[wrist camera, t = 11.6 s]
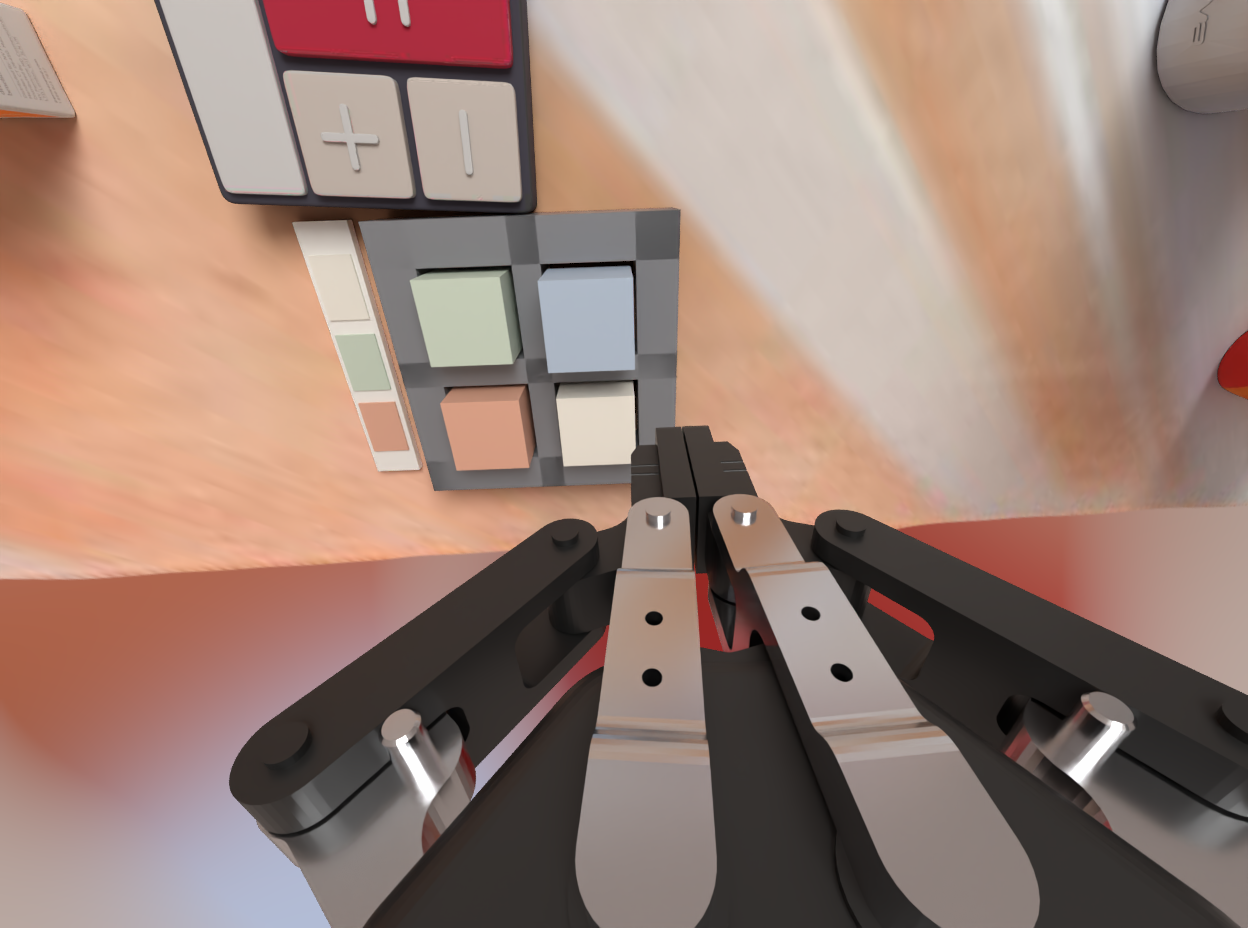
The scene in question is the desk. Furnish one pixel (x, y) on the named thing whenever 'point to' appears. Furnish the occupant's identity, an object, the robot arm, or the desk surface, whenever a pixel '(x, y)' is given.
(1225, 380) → the paper cup
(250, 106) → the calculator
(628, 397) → the cream key
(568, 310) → the slate key
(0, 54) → the skincare box
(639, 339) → the keypad base
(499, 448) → the terracotta key
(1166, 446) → the desk surface
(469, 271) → the sage key
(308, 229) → the strip
